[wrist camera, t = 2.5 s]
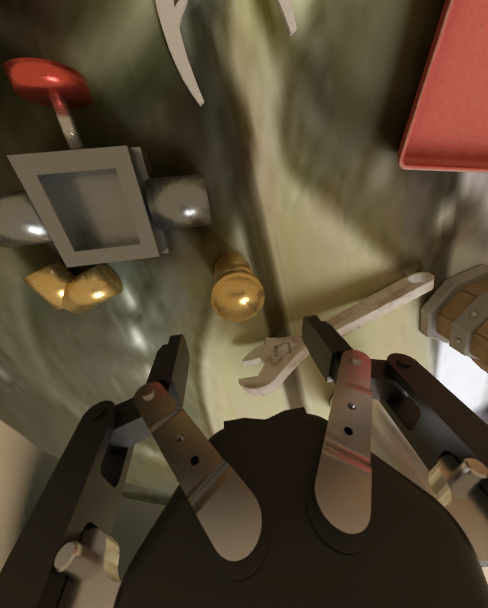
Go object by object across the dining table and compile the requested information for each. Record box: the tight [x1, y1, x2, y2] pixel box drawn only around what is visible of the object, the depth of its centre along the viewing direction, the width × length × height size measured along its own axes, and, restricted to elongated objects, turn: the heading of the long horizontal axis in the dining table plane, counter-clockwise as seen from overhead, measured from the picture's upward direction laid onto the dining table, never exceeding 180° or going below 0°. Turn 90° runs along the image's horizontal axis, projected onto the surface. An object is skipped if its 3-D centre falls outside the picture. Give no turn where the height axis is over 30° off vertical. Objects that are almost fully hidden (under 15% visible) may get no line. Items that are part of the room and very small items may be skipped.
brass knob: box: [211, 253, 265, 322], centre depth 22 cm, size 5×5×8 cm
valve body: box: [0, 58, 212, 267], centre depth 17 cm, size 19×13×5 cm
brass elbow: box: [22, 261, 123, 313], centre depth 22 cm, size 7×4×6 cm
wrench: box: [239, 272, 434, 396], centre depth 28 cm, size 8×2×30 cm
